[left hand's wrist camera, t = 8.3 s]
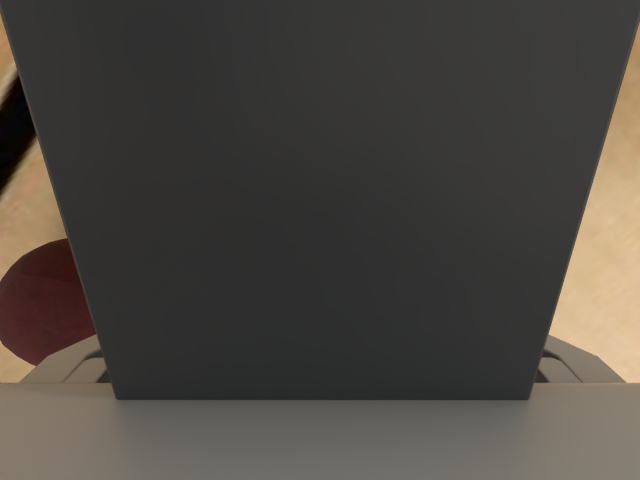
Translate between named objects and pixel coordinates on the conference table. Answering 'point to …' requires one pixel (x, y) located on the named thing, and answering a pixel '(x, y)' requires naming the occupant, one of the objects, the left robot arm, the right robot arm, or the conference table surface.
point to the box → (321, 185)
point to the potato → (43, 304)
